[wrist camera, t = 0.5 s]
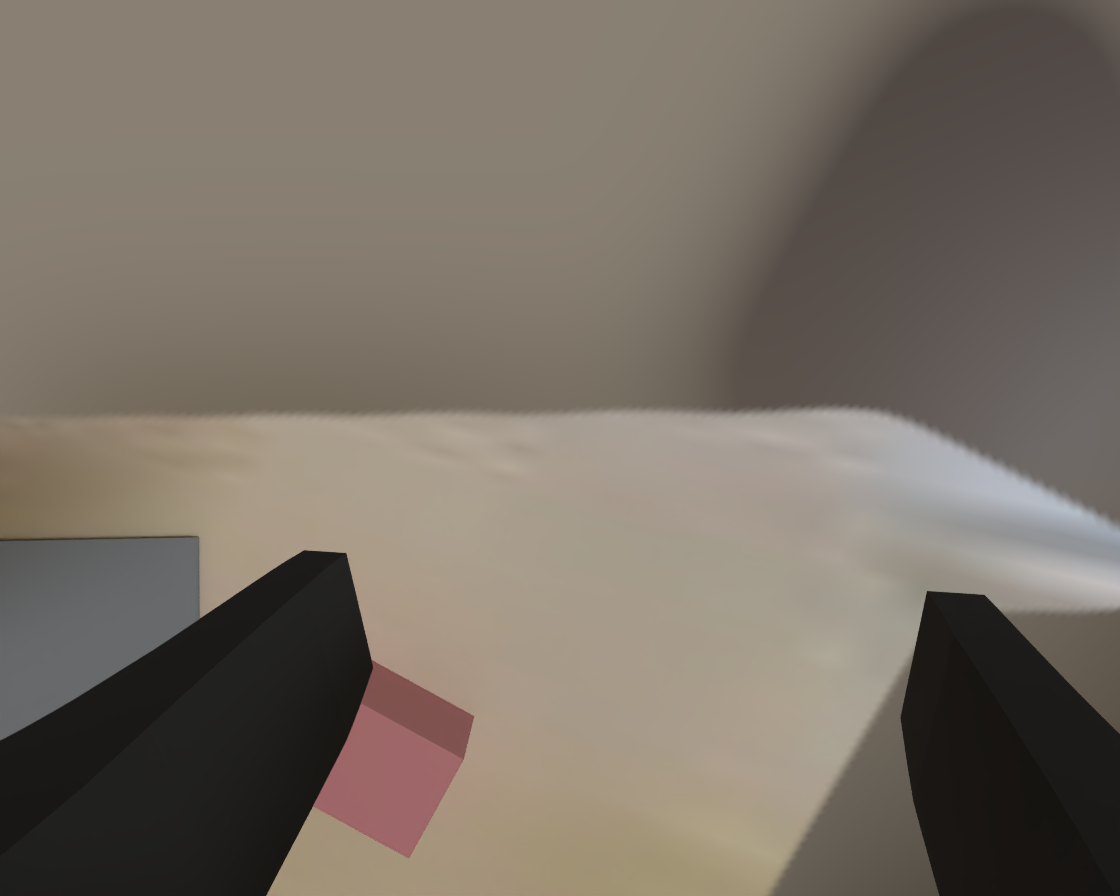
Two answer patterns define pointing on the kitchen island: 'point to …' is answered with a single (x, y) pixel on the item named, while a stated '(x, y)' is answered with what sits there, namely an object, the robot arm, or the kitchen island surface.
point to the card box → (396, 761)
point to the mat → (85, 614)
